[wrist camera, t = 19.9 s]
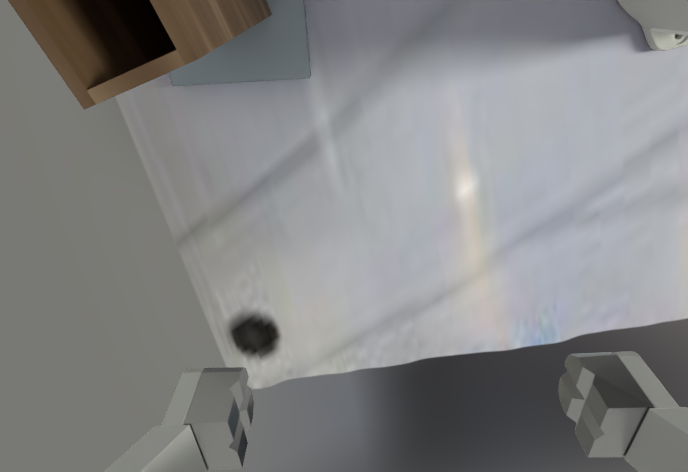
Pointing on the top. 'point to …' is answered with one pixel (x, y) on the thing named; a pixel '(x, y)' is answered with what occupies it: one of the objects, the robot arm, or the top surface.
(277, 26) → the base plate
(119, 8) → the walnut sleeve
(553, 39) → the top surface
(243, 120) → the top surface
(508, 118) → the top surface
